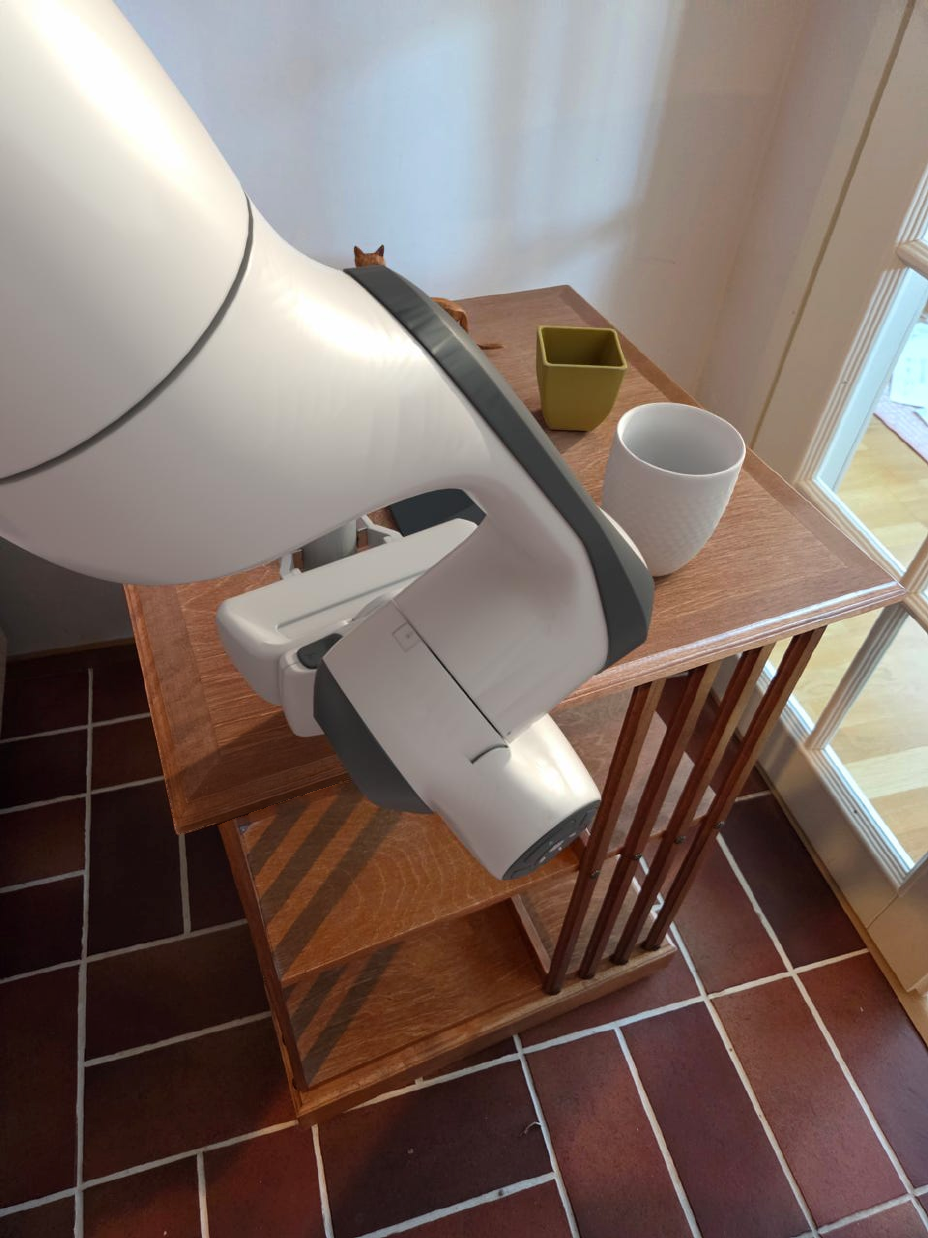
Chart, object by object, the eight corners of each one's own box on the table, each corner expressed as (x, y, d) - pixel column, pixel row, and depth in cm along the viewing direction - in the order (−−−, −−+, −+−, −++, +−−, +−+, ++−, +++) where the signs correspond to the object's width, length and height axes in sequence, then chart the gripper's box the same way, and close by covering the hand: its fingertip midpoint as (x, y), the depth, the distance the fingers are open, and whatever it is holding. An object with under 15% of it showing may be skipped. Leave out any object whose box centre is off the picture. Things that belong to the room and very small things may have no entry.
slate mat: (422, 583, 74) (422, 578, 74) (380, 489, 83) (379, 484, 83) (583, 550, 79) (585, 546, 78) (527, 465, 87) (527, 460, 87)
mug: (580, 489, 85) (603, 374, 76) (686, 495, 86) (722, 382, 76) (594, 591, 75) (623, 472, 65) (714, 597, 75) (761, 480, 66)
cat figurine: (495, 342, 105) (506, 231, 95) (509, 369, 101) (522, 255, 91) (354, 350, 102) (350, 236, 92) (362, 379, 97) (359, 262, 87)
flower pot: (526, 396, 97) (536, 323, 90) (600, 399, 97) (615, 327, 91) (532, 439, 91) (543, 364, 84) (611, 442, 91) (628, 368, 85)
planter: (365, 607, 65) (362, 503, 57) (308, 620, 64) (297, 515, 56) (349, 570, 68) (344, 466, 60) (294, 581, 66) (282, 477, 59)
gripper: (545, 570, 56) (440, 462, 64) (262, 684, 48) (180, 545, 56) (534, 633, 61) (436, 525, 69) (273, 748, 53) (195, 610, 60)
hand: (319, 535), depth 62 cm, fingers closed on planter, 4 cm apart
